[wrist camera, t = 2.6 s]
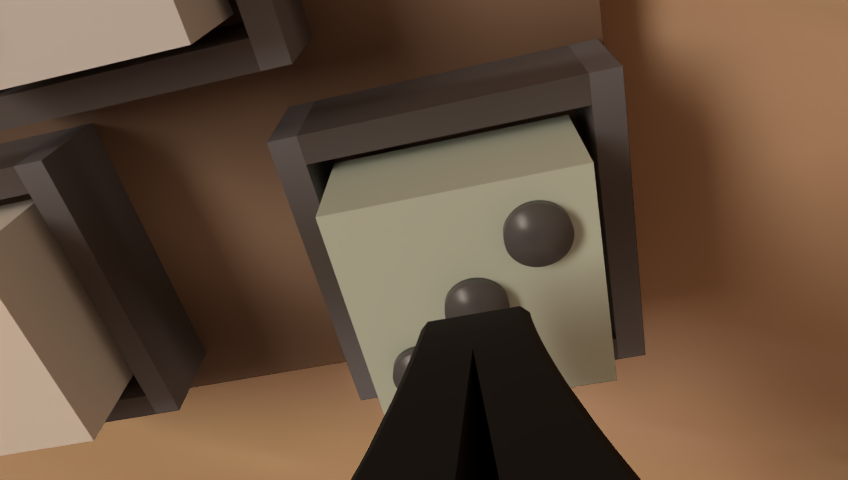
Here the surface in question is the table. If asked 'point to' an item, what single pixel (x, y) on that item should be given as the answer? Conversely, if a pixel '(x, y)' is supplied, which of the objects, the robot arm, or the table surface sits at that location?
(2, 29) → the tile two
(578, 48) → the dark brown cabinet frame
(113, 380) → the tile one
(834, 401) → the table surface
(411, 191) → the tile three
